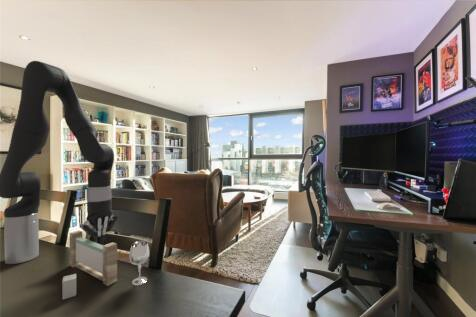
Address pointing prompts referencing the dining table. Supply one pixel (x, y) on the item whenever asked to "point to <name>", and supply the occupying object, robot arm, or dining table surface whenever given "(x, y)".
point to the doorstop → (69, 286)
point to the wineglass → (139, 258)
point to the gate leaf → (89, 254)
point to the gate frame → (108, 260)
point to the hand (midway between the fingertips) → (99, 245)
